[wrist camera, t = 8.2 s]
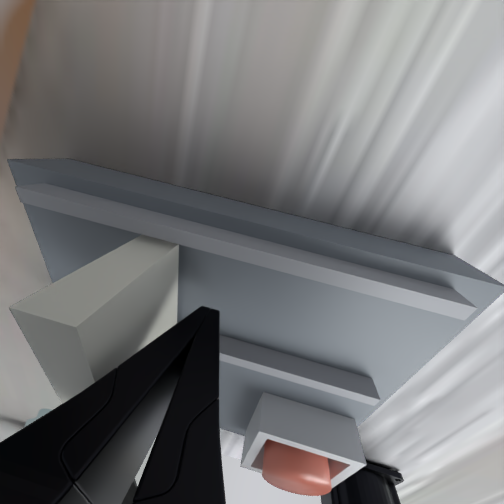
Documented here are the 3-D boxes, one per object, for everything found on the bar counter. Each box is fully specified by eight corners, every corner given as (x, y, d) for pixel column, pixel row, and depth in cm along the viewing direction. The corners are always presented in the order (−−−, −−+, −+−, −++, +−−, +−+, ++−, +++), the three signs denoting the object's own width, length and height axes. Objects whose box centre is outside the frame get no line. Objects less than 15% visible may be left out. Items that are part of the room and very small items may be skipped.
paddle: (178, 243, 8) (76, 327, 4) (177, 322, 10) (109, 424, 6) (142, 234, 8) (8, 307, 4) (149, 314, 10) (65, 410, 6)
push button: (333, 426, 12) (343, 483, 10) (312, 449, 14) (316, 501, 12) (274, 408, 13) (271, 459, 10) (260, 433, 14) (255, 481, 12)
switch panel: (454, 255, 9) (585, 333, 5) (317, 421, 18) (325, 499, 14) (68, 158, 10) (-75, 160, 6) (115, 360, 19) (68, 415, 15)
